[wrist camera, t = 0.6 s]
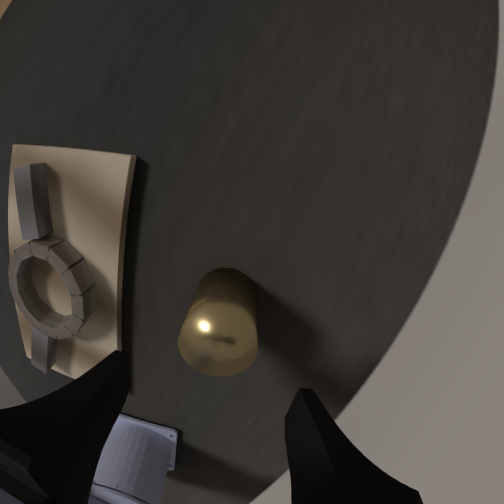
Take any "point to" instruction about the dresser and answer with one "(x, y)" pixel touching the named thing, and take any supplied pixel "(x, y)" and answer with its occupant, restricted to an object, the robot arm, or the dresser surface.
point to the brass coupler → (221, 324)
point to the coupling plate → (90, 232)
